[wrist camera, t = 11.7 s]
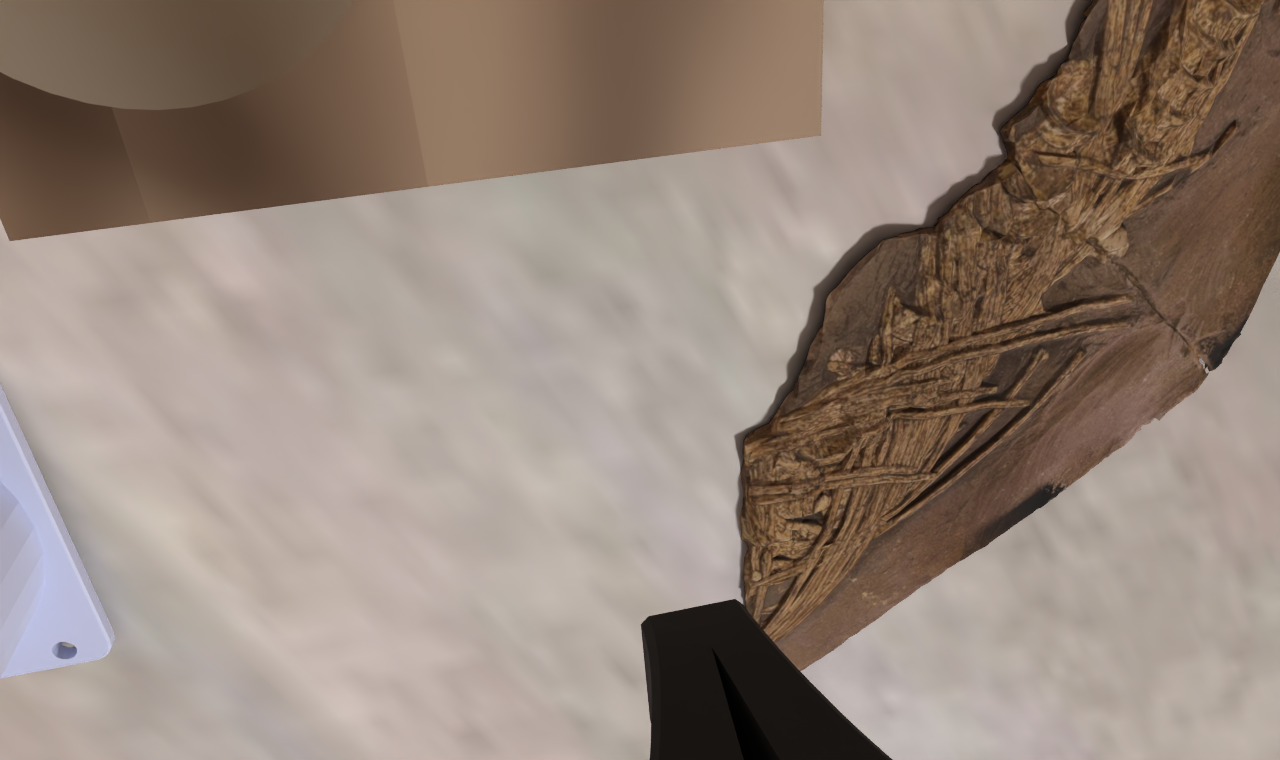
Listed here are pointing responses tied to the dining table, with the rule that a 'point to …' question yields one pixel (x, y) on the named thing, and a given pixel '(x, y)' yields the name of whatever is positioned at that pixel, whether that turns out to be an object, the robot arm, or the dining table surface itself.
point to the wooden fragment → (1024, 319)
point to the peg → (158, 47)
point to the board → (425, 108)
